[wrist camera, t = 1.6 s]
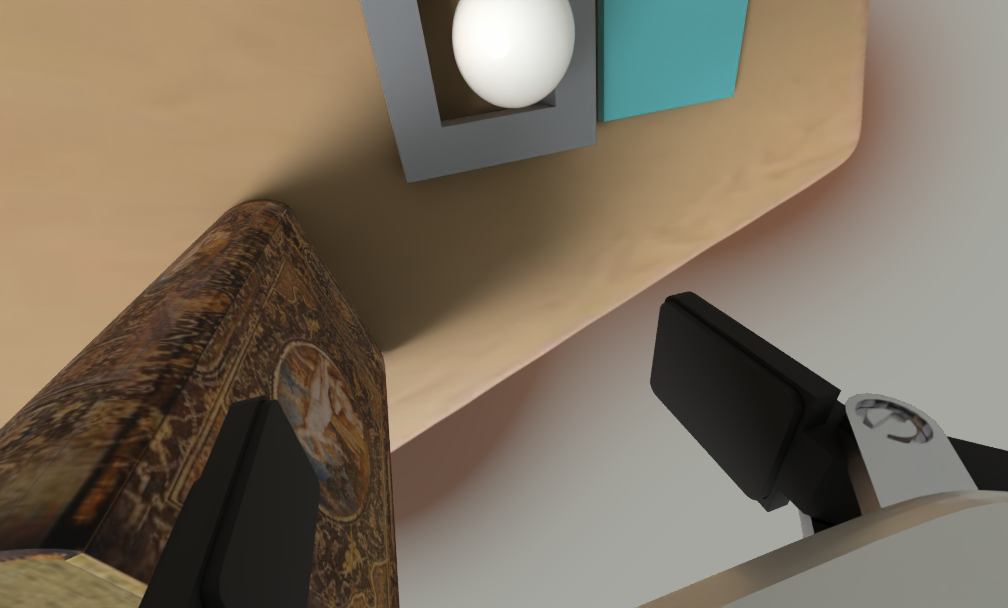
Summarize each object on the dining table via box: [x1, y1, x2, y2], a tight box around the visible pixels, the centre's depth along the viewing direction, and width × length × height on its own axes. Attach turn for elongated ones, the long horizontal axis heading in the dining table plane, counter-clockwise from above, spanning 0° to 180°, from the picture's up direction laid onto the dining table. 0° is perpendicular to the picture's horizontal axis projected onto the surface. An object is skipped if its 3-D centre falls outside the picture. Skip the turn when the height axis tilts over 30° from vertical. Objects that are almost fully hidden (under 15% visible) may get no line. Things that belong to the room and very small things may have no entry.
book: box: [0, 200, 399, 608], centre depth 22 cm, size 16×6×25 cm, turn 18°
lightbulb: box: [452, 0, 575, 108], centre depth 23 cm, size 6×6×11 cm
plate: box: [597, 0, 748, 122], centre depth 30 cm, size 12×12×1 cm
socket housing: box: [359, 0, 596, 183], centre depth 26 cm, size 14×14×4 cm
